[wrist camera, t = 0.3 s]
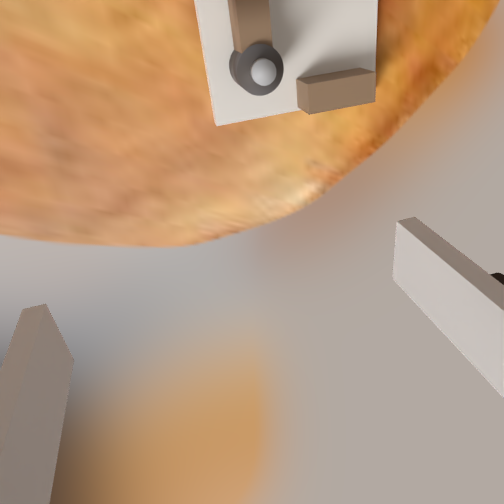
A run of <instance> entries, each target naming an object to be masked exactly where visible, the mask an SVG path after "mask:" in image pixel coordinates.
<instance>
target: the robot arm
mask: <svg viewBox="0 0 504 504" xmlns="http://www.w3.org/2000/svg"><path fill="white" fill-rule="evenodd" d="M393 280H394V281H396V283H397V284H398V285H399V286H400V287H401V288H402V289H403V290H404V291H405V292H406V294H407V295H408V296H409V297H410V298H411V299H412V300H413V301H414V302H415V303H416V304H417V305H418V306H419V307H420V309H421V310H422V311H423V312H424V313H425V314H426V315H427V316H428V317H429V318H430V319H431V320H432V321H433V323H434V324H435V325H436V326H437V327H438V328H439V329H440V330H441V331H442V332H443V333H444V334H445V335H446V336H447V338H448V339H449V340H450V341H451V342H452V343H453V344H454V345H455V346H456V347H457V348H458V349H459V351H460V352H461V353H462V354H463V355H464V356H465V357H466V358H467V359H468V360H469V361H470V362H471V363H472V364H473V366H474V367H475V368H476V369H477V370H478V371H479V372H480V373H481V374H482V375H483V376H484V377H485V378H486V380H487V381H488V382H489V383H490V384H491V385H492V386H493V387H494V388H495V389H496V390H497V391H498V392H499V394H500V395H501V396H502V397H503V398H504V275H503V274H501V273H495V274H491V275H490V274H488V273H487V272H486V271H484V270H483V269H482V268H481V267H479V266H478V265H477V264H475V263H474V262H473V261H472V260H470V259H469V258H468V257H466V256H465V255H463V254H462V253H461V252H460V251H458V250H457V249H456V248H455V247H453V246H452V245H451V244H449V243H448V242H447V241H446V240H444V239H443V238H442V237H440V236H439V235H438V234H436V233H435V232H434V231H432V230H431V229H430V228H429V227H427V226H426V225H425V224H423V223H422V222H421V221H420V220H418V219H417V218H416V217H413V218H408V219H404V220H400V221H397V224H396V238H395V252H394V266H393ZM73 362H74V359H73V357H72V355H71V353H70V351H69V349H68V347H67V345H66V343H65V341H64V339H63V337H62V335H61V333H60V331H59V329H58V327H57V325H56V323H55V321H54V319H53V317H52V315H51V313H50V311H49V309H48V307H47V305H46V304H43V305H39V306H35V307H30V308H26V309H23V310H22V312H21V315H20V318H19V321H18V323H17V326H16V329H15V332H14V334H13V337H12V340H11V343H10V345H9V348H8V351H7V353H6V356H5V359H4V362H3V364H2V367H1V370H0V504H49V502H50V496H51V490H52V484H53V478H54V472H55V467H56V461H57V455H58V449H59V444H60V438H61V432H62V426H63V420H64V415H65V408H66V403H67V397H68V391H69V386H70V379H71V374H72V368H73Z"/></svg>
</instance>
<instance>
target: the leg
mask: <svg viewBox="0 0 504 504" xmlns="http://www.w3.org/2000/svg"><path fill="white" fill-rule="evenodd" d="M227 1H228V8H229V16H230V23H231V31H232V38H233V46H234V50H233V52H232V54H231V56H230V60H229V70H230V74H231V76H232V78H233V80H234V81H235V82H236V83H237V84H238V85H239V86H241V87H242V88H243V89H244V90H246V91H247V92H248V93H250V94H252V95H256V96H264V95H267V94H269V93H271V92H273V91H274V90H275V89H276V88H277V87H278V86H279V84H280V82H281V80H282V77H283V72H284V66H283V61H282V58H281V56H280V54H279V53H278V52H277V51H276V50H275V49H274V48H273V43H272V31H271V20H270V8H269V0H227ZM260 58H265V59H268V60H270V61H272V62H273V63H274V65H275V67H276V77H275V79H274V81H273V82H272V83H271V84H269V85H267V86H261V85H259V84H257V83H256V82H254V81H253V79H252V78H251V75H250V69H251V66H252V64H253V62H254V61H256V60H257V59H260Z"/></svg>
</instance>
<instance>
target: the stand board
mask: <svg viewBox="0 0 504 504" xmlns="http://www.w3.org/2000/svg"><path fill="white" fill-rule="evenodd" d="M194 3H195V9H196V15H197V21H198V26H199V32H200V38H201V44H202V50H203V56H204V62H205V68H206V74H207V80H208V86H209V91H210V97H211V103H212V109H213V115H214V121H215V124H216V125H217V126H219V125H224V124H230V123H235V122H240V121H245V120H251V119H256V118H261V117H266V116H272V115H277V114H282V113H288V112H293V111H298V110H303V111H304V112H306V113H308V114H309V115H310V114H315V113H320V112H325V111H330V110H336V109H341V108H346V107H351V106H356V105H362V104H367V103H372V102H375V94H376V72H375V68H376V38H377V8H378V0H269V8H270V20H271V31H272V43H273V48H274V49H275V50H276V51H277V52H278V53H279V54H280V56H281V58H282V61H283V66H284V72H283V77H282V80H281V82H280V84H279V86H278V87H277V88H276V89H275V90H274V91H273V92H271V93H269V94H267V95H264V96H256V95H252V94H250V93H248V92H247V91H246V90H244V89H243V88H242V87H241V86H239V85H238V84H237V83H236V82H235V81H234V80H233V78H232V76H231V74H230V70H229V60H230V56H231V54H232V52H233V50H234V46H233V38H232V31H231V23H230V16H229V8H228V1H227V0H194ZM250 75H251V78H252V79H253V81H254V82H256V83H257V84H259V85H261V86H267V85H269V84H271V83H272V82H273V81H274V79H275V77H276V67H275V65H274V63H273V62H272V61H270V60H268V59H265V58H260V59H257V60H256V61H254V62H253V64H252V66H251V69H250Z"/></svg>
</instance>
